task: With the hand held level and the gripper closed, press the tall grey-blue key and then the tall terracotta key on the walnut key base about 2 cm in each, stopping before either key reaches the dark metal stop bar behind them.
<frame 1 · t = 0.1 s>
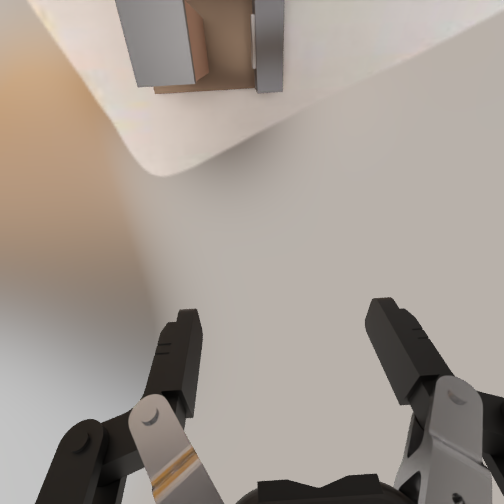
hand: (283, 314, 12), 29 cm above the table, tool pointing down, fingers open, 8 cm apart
terracotta key: (175, 46, 23), point 8 cm above the table, slide at 0.0 cm
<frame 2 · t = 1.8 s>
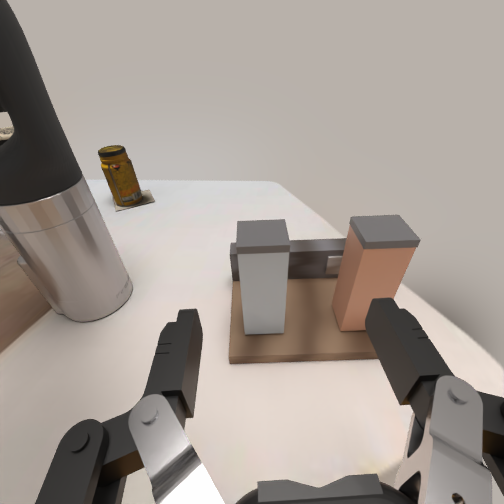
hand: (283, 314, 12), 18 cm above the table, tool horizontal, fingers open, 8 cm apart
bluegrey key: (262, 282, 28), point 8 cm above the table, slide at 0.0 cm
key base: (304, 310, 35), on the table
terracotta key: (366, 278, 28), point 8 cm above the table, slide at 0.0 cm
condiment: (134, 201, 62), on the table
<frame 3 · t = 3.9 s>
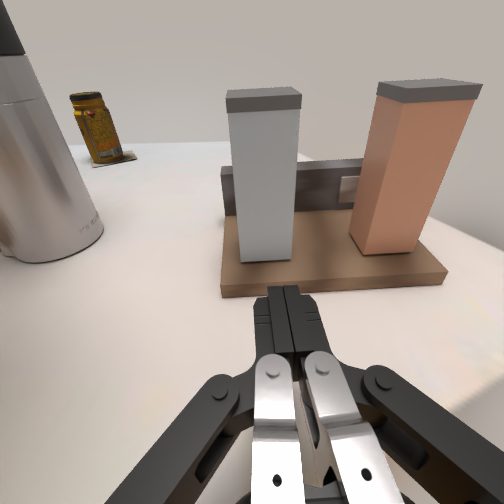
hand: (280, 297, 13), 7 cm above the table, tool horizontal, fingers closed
bluegrey key: (263, 183, 21), point 8 cm above the table, slide at 0.0 cm
key base: (313, 244, 28), on the table
terracotta key: (398, 175, 22), point 8 cm above the table, slide at 0.0 cm
condiment: (114, 160, 55), on the table
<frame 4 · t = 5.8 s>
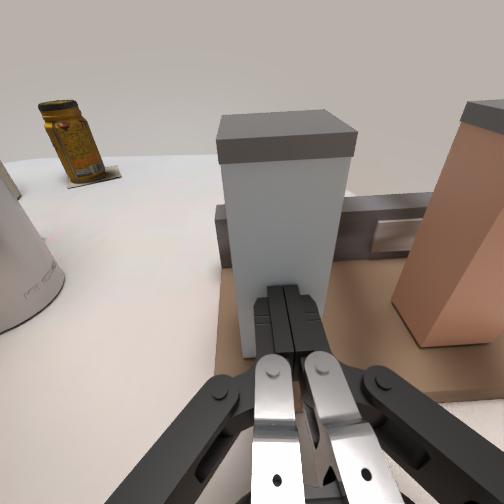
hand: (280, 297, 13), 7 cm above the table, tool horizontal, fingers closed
bluegrey key: (276, 253, 14), point 8 cm above the table, slide at 0.1 cm, touching gripper
key base: (341, 312, 21), on the table
terracotta key: (482, 241, 14), point 8 cm above the table, slide at 0.0 cm
condiment: (95, 177, 48), on the table
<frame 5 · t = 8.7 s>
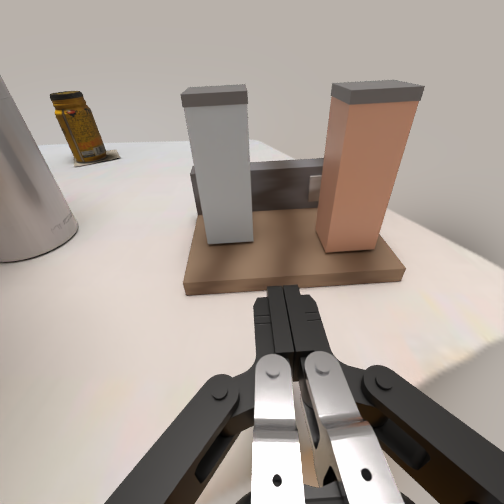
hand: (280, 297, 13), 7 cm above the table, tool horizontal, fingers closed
bluegrey key: (224, 172, 24), point 8 cm above the table, slide at 2.5 cm
key base: (282, 242, 29), on the table
terracotta key: (355, 175, 22), point 8 cm above the table, slide at 0.0 cm
condiment: (97, 159, 55), on the table
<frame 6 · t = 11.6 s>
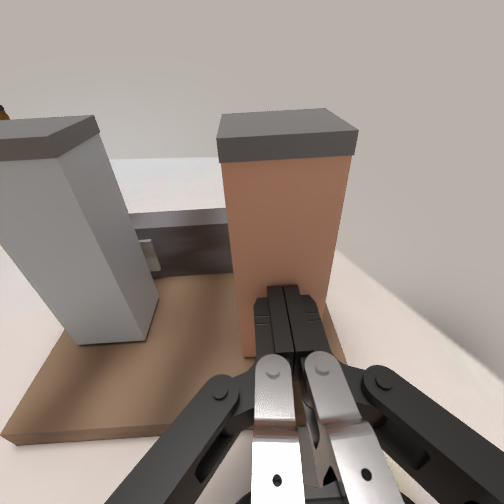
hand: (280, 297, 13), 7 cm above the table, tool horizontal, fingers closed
bluegrey key: (83, 247, 15), point 8 cm above the table, slide at 2.5 cm
key base: (201, 328, 20), on the table
terracotta key: (277, 252, 14), point 8 cm above the table, slide at 0.8 cm, touching gripper
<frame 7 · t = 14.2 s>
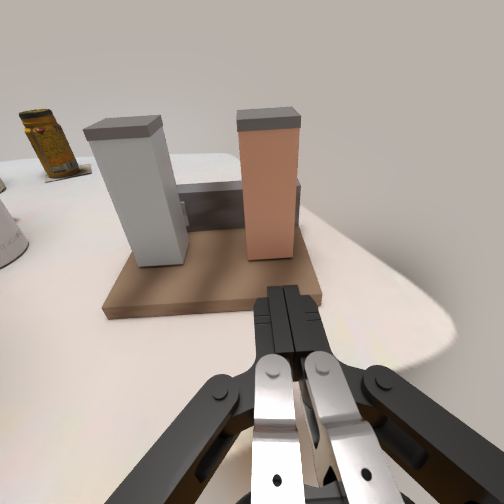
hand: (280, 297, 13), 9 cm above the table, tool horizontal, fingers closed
bluegrey key: (148, 197, 24), point 8 cm above the table, slide at 2.5 cm
key base: (219, 263, 29), on the table
terracotta key: (267, 190, 24), point 8 cm above the table, slide at 2.4 cm
condiment: (70, 174, 57), on the table
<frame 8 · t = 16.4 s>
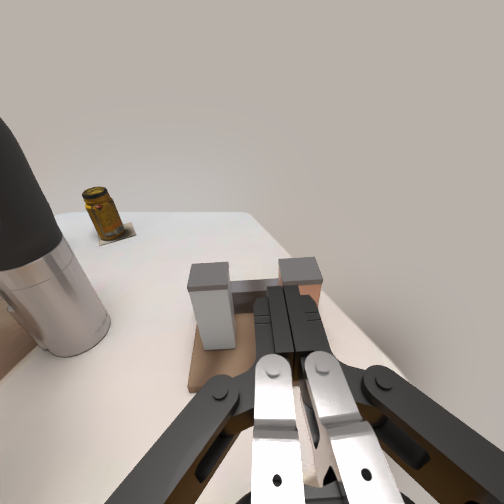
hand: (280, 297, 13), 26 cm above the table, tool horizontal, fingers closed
bluegrey key: (215, 308, 36), point 8 cm above the table, slide at 2.5 cm
key base: (257, 341, 41), on the table
terracotta key: (296, 304, 36), point 8 cm above the table, slide at 2.4 cm
condiment: (117, 234, 68), on the table
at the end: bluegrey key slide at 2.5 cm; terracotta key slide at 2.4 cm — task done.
